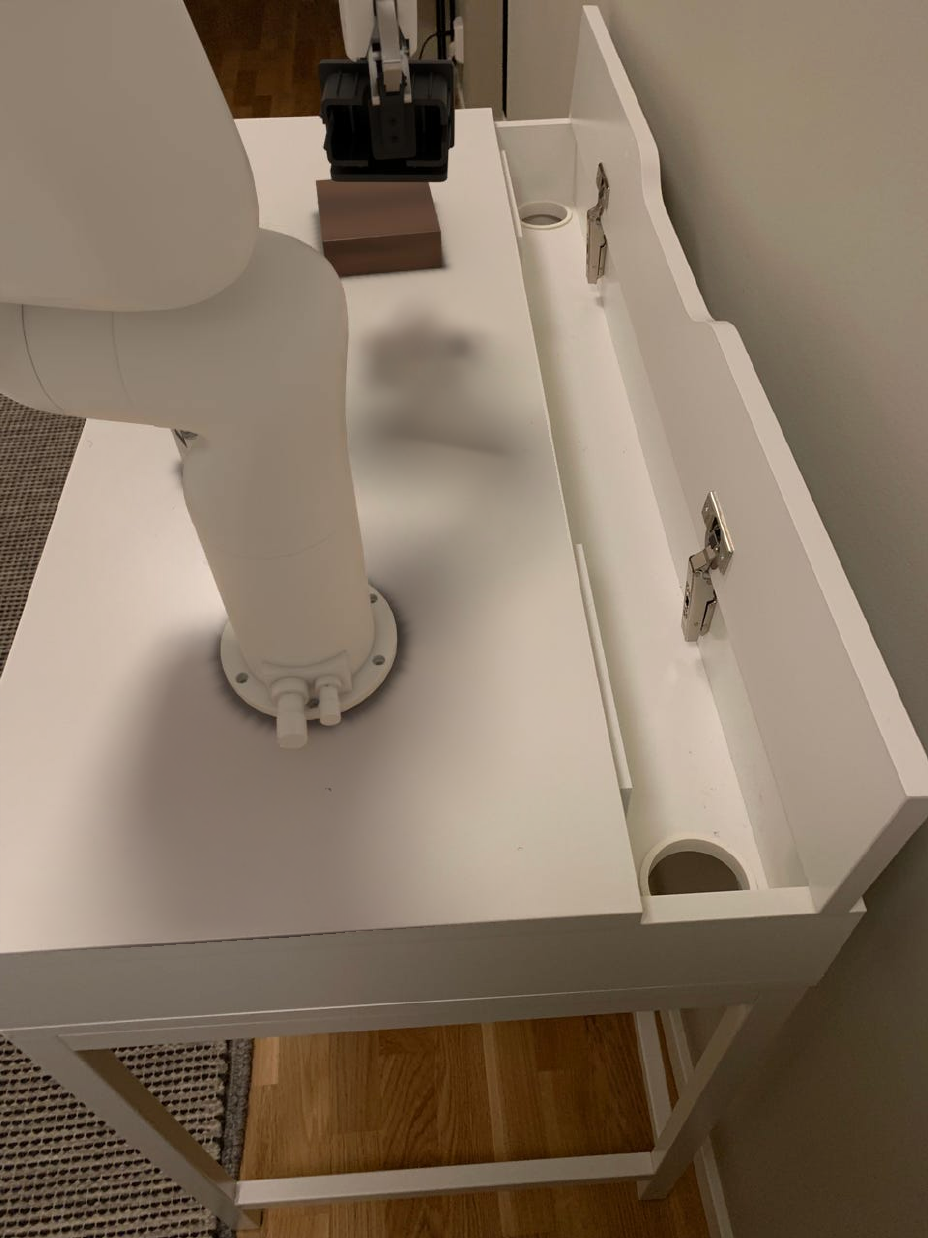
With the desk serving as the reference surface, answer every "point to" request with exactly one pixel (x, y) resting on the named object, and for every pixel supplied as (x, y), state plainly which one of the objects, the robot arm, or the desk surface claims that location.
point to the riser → (378, 226)
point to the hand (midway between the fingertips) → (389, 127)
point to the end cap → (352, 132)
